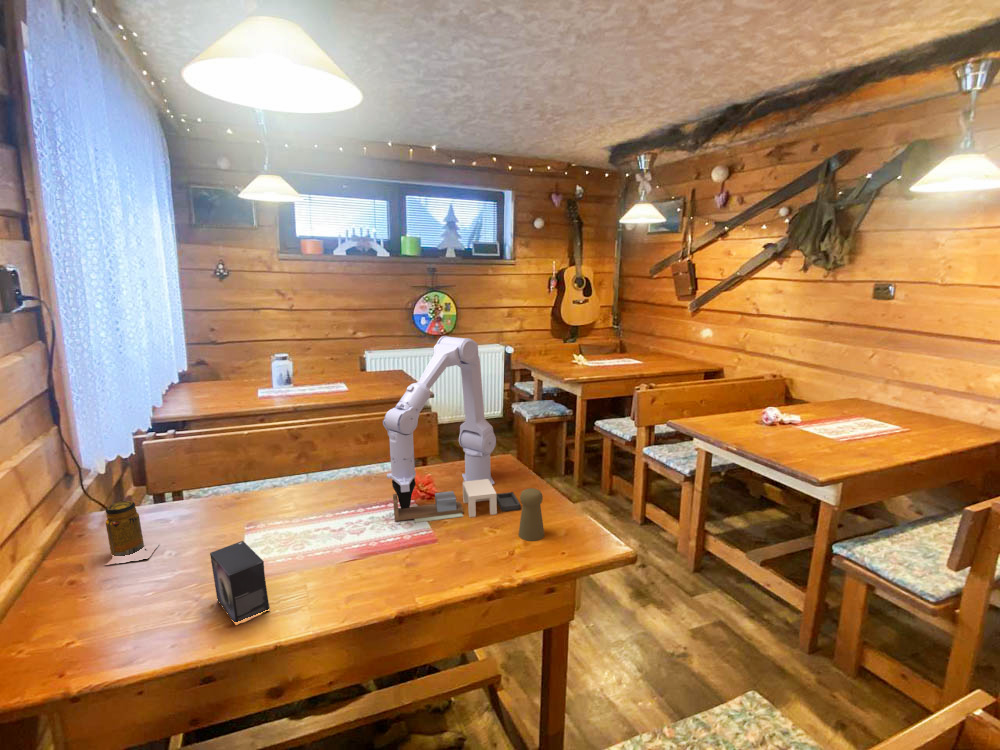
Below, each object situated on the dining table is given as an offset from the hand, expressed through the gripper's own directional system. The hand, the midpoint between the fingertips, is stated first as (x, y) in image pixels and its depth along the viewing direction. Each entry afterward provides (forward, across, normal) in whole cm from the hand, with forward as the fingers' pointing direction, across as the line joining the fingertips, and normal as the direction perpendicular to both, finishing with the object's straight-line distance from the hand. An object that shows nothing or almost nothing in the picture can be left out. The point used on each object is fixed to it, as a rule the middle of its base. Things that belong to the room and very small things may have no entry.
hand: (405, 507), depth 135 cm
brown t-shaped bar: (+2, 0, +6) cm, 6 cm away
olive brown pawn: (+3, +17, +28) cm, 33 cm away
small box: (+3, +29, -32) cm, 43 cm away
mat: (+2, 0, +8) cm, 8 cm away
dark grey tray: (+2, 0, +26) cm, 27 cm away
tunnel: (+2, 0, +19) cm, 19 cm away
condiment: (+3, +3, -60) cm, 60 cm away
